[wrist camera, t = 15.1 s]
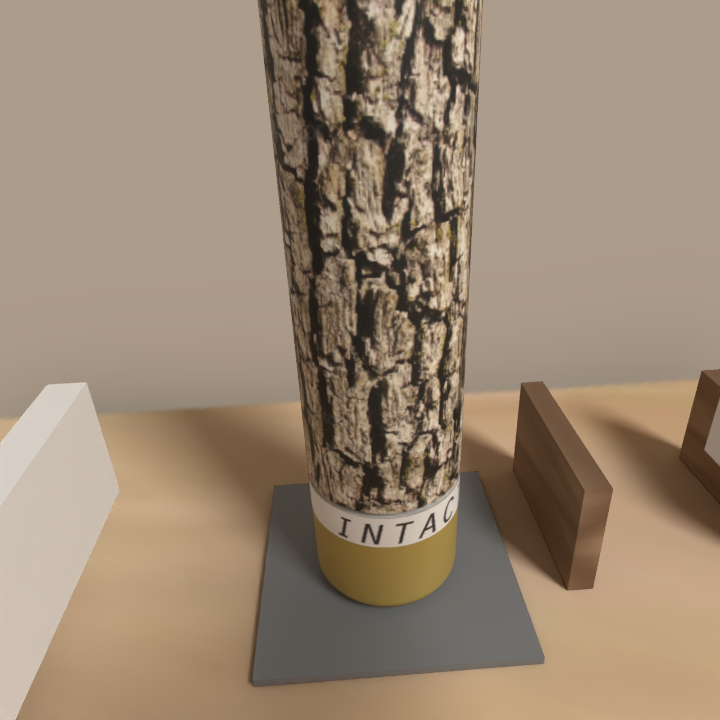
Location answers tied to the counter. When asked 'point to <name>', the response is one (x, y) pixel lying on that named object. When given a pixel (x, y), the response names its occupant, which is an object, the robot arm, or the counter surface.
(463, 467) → the counter surface
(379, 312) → the paper tube
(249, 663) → the counter surface
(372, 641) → the mat
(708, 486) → the board
